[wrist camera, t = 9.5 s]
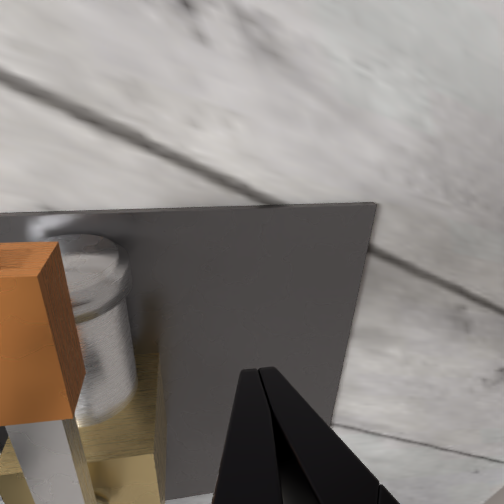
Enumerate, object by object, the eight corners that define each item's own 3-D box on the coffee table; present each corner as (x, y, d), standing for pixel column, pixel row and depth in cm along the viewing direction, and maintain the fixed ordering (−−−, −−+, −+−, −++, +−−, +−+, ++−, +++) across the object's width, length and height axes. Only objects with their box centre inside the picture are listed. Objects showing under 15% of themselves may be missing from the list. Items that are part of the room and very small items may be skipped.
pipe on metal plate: (317, 470, 31) (352, 575, 25) (34, 516, 27) (-8, 654, 21) (373, 202, 20) (464, 272, 13) (-102, 216, 16) (-281, 323, 10)
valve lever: (121, 531, 17) (116, 578, 16) (57, 542, 17) (45, 591, 15) (62, 241, 10) (41, 276, 9) (-53, 244, 10) (-97, 281, 8)
